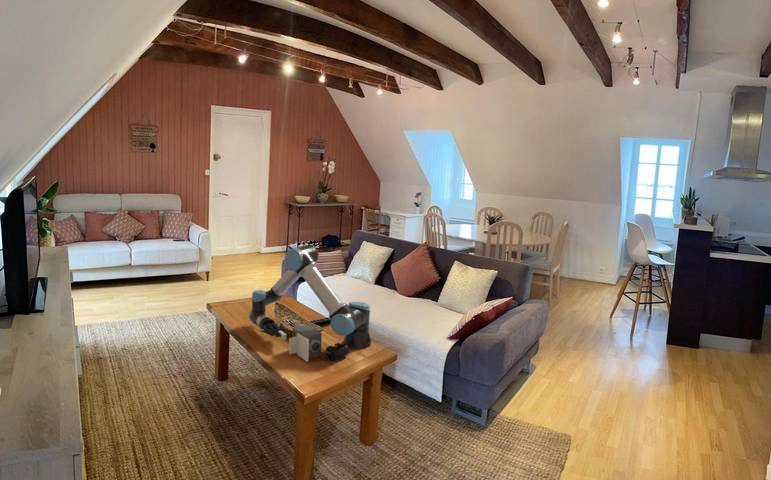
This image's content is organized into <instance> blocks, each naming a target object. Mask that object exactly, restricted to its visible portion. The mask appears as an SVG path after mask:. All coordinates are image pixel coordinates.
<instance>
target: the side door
mask: <svg viewBox="0 0 771 480" xmlns="http://www.w3.org/2000/svg"><path fill="white" fill-rule="evenodd" d="M288 354H289V355H293V354H296V355H297V356H299V357H300V358H301V359H302V360H304V361H305V362H309V359H310V358H309V340H308V339H307V338H306V337H304V336H303V335H301V334H300V333H299V334H297V337H293V336H292V337H289V338H288Z"/></svg>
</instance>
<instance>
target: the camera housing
mask: <svg viewBox="0 0 771 480" xmlns="http://www.w3.org/2000/svg"><path fill="white" fill-rule="evenodd" d="M299 333H300V334H301V335H303V336H304V337H306V338H307V339H308V340H309V359H311V358H316V357H319V356H321V355H322V339H323V337H322V336H323V335H322V334H323V332H321V331H320V330H318V329H316V328H314V327H313V326H311V325H310V324H304V325H299V326H293V327H292V338H293V337H297V334H299Z"/></svg>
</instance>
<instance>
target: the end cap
mask: <svg viewBox="0 0 771 480" xmlns="http://www.w3.org/2000/svg"><path fill="white" fill-rule="evenodd" d="M349 348H350V347H348V346H347V345H346V344H344V343H341V342H340V343H339V342H338V343H334V346H332V345H329V346H326V348H325V351H326V353H325V357H326V358H325V359H326V360H328V361H330V362H333V361H337V360H339V359H342V358H344V357H346V356H347V355H349V353H350V349H349Z"/></svg>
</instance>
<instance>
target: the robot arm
mask: <svg viewBox="0 0 771 480" xmlns="http://www.w3.org/2000/svg"><path fill="white" fill-rule="evenodd" d="M319 256H320V254H319V251H318V249H317V248H316V247H315V246H313V245H311V244H305V245H302V246H297V247H293V248H291V249H289V250H287V252H286V253H285V255H284V265H285V267H286V269H287V270H286V272H285V273H284V274H283V275H282V276H281V277H280V278H279V279H278V280H277V281H276V282H275V284H273V285H272V287H271V288H269V290H266V291H265V290H262V289H258V290H254V291H252V292H251V293H252V294H251V311H250V312H249V315H248V317H249V320H250V321H251V323H253V324H254V325H255V326H257V327H259V328H260V332H261V333H264V334H265V335H269V336H271V337H275V338H280V339H281V340H283V341H285V340H287V333H286V328H285V327H284V326H283V323H279V324H278V323H277V322H275V320H274V318H273V319H272V318H271V317H270V316H268V315H267V314H266V307H267V306H268V305H270V304H274V303H275V302H276V303H277V302H279V301H280V300H282V298H283V297H284V294H285V293H286V292H287V291H288V290H289V289H290V288H291V287H292V286H293V285H294V284H295V283H296V282H297V281H298V279H299V278H300V277H301V278H303V279H304V280H305V282H306V283H307V285H308V287H310V288H311V290H312V292H313V293H314V295H315V296H316V297H317V298H318V299H319V301H320V302H321V304H322V306H324V308H325V309H326V311H327V312H328V319H330V328H331V330H332V331H333V332H334V333H335V334H336V335H339V336H344V338H343V344H346V345H347V346H348V348H350V349H357V350H358V349H359V350H361V349H366V348H369V347H370V346H371V345H372V338H371V333H370V315H371V314H370V313H371V306H370V304H369V303H367V302H362V301H350V302H349V303H346V302H343V301H342V300H341V299H340V297H339V296H338V295H337V293H336V292H335V291H334V290H333V288H332V286H331V285H330V284H329V283H328V281H327V280H326V279H325V277H324V276H323V275H322V274H321V272H320V271H319V270H318V268H317V262H318V261H319V258H320V257H319Z"/></svg>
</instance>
